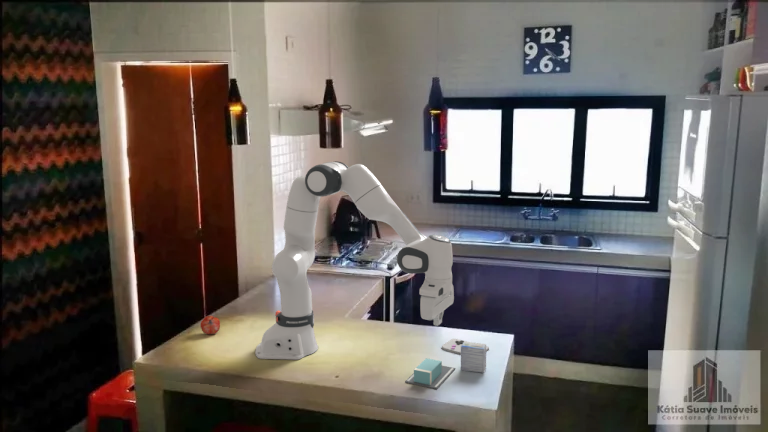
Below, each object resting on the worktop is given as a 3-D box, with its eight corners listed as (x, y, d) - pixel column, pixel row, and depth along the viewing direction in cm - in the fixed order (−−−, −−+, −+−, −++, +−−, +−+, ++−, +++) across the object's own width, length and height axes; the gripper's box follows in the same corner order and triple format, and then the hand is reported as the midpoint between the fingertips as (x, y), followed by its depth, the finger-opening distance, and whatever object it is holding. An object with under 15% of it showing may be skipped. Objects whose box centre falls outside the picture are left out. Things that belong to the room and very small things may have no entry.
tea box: (441, 372, 201) (429, 385, 192) (426, 369, 203) (413, 381, 194) (441, 361, 200) (429, 372, 191) (426, 358, 202) (413, 369, 194)
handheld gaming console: (453, 337, 229) (489, 346, 220) (453, 341, 229) (489, 350, 220) (439, 346, 221) (476, 355, 212) (439, 350, 221) (476, 359, 212)
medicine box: (486, 368, 204) (486, 343, 203) (484, 373, 200) (484, 348, 199) (463, 365, 207) (463, 341, 205) (460, 370, 203) (460, 346, 201)
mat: (437, 389, 190) (437, 387, 190) (405, 382, 195) (405, 381, 195) (455, 369, 204) (455, 367, 204) (425, 363, 209) (425, 362, 209)
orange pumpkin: (200, 337, 241) (197, 330, 233) (203, 319, 245) (200, 311, 236) (220, 338, 242) (216, 331, 233) (222, 320, 246) (219, 312, 237)
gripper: (441, 275, 211) (440, 313, 213) (417, 291, 193) (416, 332, 195) (458, 277, 208) (457, 316, 210) (435, 294, 190) (434, 336, 193)
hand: (437, 324), depth 203 cm, fingers closed
